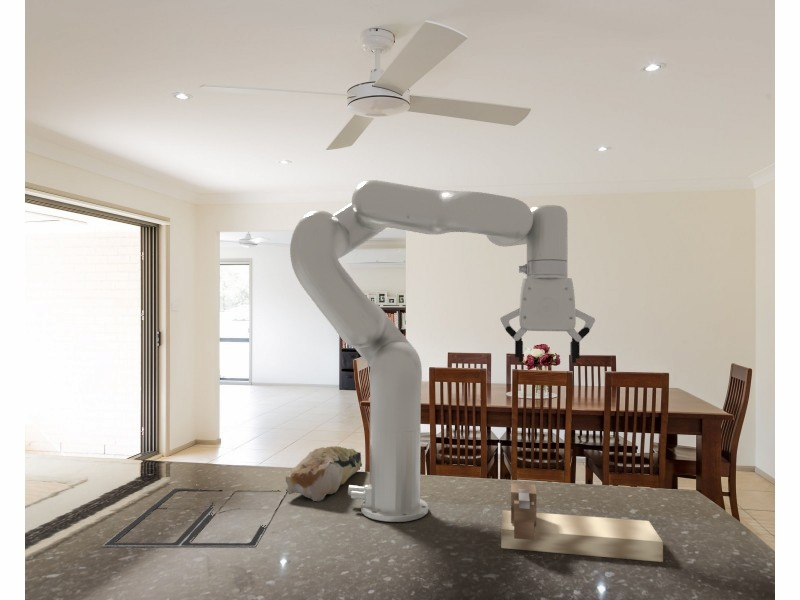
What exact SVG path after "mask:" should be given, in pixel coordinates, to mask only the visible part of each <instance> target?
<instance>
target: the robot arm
mask: <svg viewBox="0 0 800 600" xmlns="http://www.w3.org/2000/svg"><path fill="white" fill-rule="evenodd" d="M351 197H352V198H351V202H350V203H349V204H348V205H346V206H345V207H344V208H342V209H340V210H339V211H337V212H335V213H334V214H333V213H330V212H328V211H325V210H314V211H310V212H308V213H306V214H305V215H304V216H302V217H301V219H300V220H299V221H298V222H297V225H296V226H295V228H294V230H293V233H292V236H291V239H290V243H289V245H290V246H289V255H290V262H291V266H292V269H293V272H294V274H295V277H296V279H297V281H298V282H299V284H300V285H301V287H302V288H303V290H304V291H305V292H306V294H307V295H308V296H309V297H310V299H311V301H313V303H314V304H315V305H316V307H317V308H318V309H319V311H320V312H321V313H322V315H323V317H325V318H326V320H327V321H328V322H329V323H330V325H331V326H332V327H333V328H334V330H335V332H336V333H337V334H338V336H339V337H340V339H342V341H343V342H344V343H345V344H346V345H348V346H350V347H352V348H354V349H355V350H356V352H357V353H358V354H359V355H360V357H362V359H363V360H364V362H366V364H367V365H368V366H369V398H370V399H369V404H370V406H369V407H370V409H369V410H370V411H369V413H370V414H369V415H370V419H369V431H370V433H369V484H365V485H364V486H359V485H355V484H354V485H353V484H349V485H348V487H347V488H348V489H347V494H348V496H350V499H356V500H361V499H362V501H363V502H361V505H360V511H361V514H363V515H364V516H365V517H366V518H369V519H372V520H375V521H380V522H387V523H388V522H389V523H402V522H411V521H415V520H419V519H421V518H423V517H424V516H426V515H427V514H428V512H429V504H428V503H427V502H426V501H425V500H424V499H421V435H422V433H421V432H422V431H421V422H422V421H421V420H422V419H421V416H422V415H421V406H422V405H421V404H422V403H421V401H422V381H423V380H422V378H423V375H422V373H423V372H422V371H423V370H422V363H421V358H420V355H419V353H418V352H417V350H416V349H415V347H414V346H413V345H412V343H410V342H409V341H408V339H407V338H406V337H405V335H403V333H402V332H401V330H400V329H399V328H398V327H397V325H396V324H395V323H394V322H393V320H391V318H390V317H389V316H388V315H387V313H386V312H385V311H384V310H383V309H382V308H381V306H380V305H378V304H377V303H376V302H374V301H372V300H370V298H369V297H368V296H367V294H365V293H364V291H362V289H361V288H360V287H359V286H358V285H357V283H356V282H355V281H354V280H353V278H352V276H351V275H350V274H349V273H348V272H347V271H346V269H345V268H344V267H343V265H342V264H341V263H340V261H339V259H341V258H342V257H345V256H346V255H348V254H349V253H351V252H353V251H354V250H355V249H357V248H358V247H361V246H362V245H363V244H365V243H366V242H368V241H369V240H371V239H372V238H374V237H375V236H377V235H378V234H379V233H381V232H383V231H384V230H385V229H387V228H389V229H396V230H400V231H401V230H402V231H408V232H413V233H419V234H424V235H443V234H448V233H469V234H471V233H472V234H476V235H477V234H478V235H484V236H486V238H487V239H488V240H489V242H490V243H492V244H493V245H495V246H498V247H506V248H507V247H513V246H515V247H516V246H522V245H526V263H525V264H523V265H519V266H518V272H519V273H523V274H524V275H526V278H522V281H521V287H520V296H519V308H516V309H515V310H513V311H511V312H509V313H507V314H504V315H503V316H501V317H500V322H501V324H502V325H503V326H502V327H503V328H504V330H505V331H506V333H507V334H508V335H509V336H510V337H511V338H512V339H513V340H514V357H515V358H518V363H522V362H523V361H524V357H523V356H524V342H523V338H522V337H523V336H524V335H525V334H526V333H527V332H529V331H530V332H567V334H568V335H569V336H570V337H571V341H570V342H569V343H570V348H569V349H570V351H569V352H570V355H569V356H570V357H569V359H570V363H572V364H577V359H580V342H581V341H582V340H583V339H584V338H585V337H586V336H587V335H588V334H589V333H590V332H591V329H592V327H593V326H594V324H595V322H596V319H595V317H593V316H591V315H590V314H589V315H588V314H587V313H586V312H583V311H581V310H579V309H577V308H576V300H575V299H576V298H575V297H576V296H575V289H574V283H573V279H572V278H571V277H569V278H568V275H569V274H568V271H569V270H568V265H569V264H568V231H569V229H568V228H569V227H568V223H569V222H568V220H569V219H568V217H569V216H568V211H567V209H566V207H563V206H561V205H556V204H543V205H537V206H532V207H531V208H530V206H528V204H527V203H526V202H524V201H523V200H520V199H517V198H516V197H510V196H505V195H499V194H495V193H489V192H480V191H470V190H468V191H467V190H465V191H463V190H450V189H449V190H445V189H444V190H443V189H441V190H440V189H439V190H438V189H431V188H425V187H418V186H413V185H407V184H400V183H396V182H389V181H383V180H377V179H375V180H374V179H371V180H365V181H363V182H361V183H359V184H358V185H357V186H356V188H355V189H354V191H353V193H352V196H351ZM517 317H519V326H520V328H519V329H518V331H516V330H515V329H514V328H513V327H512V326H511V324H510V321H511V320H512V319H514V318H517ZM577 318H578V319H580V320H582V321H584V325H583V327H582V328H581V329H580V330H579V331H577V330H575V327H576V324H577V323H576V322H577V321H576V320H577Z"/></svg>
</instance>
